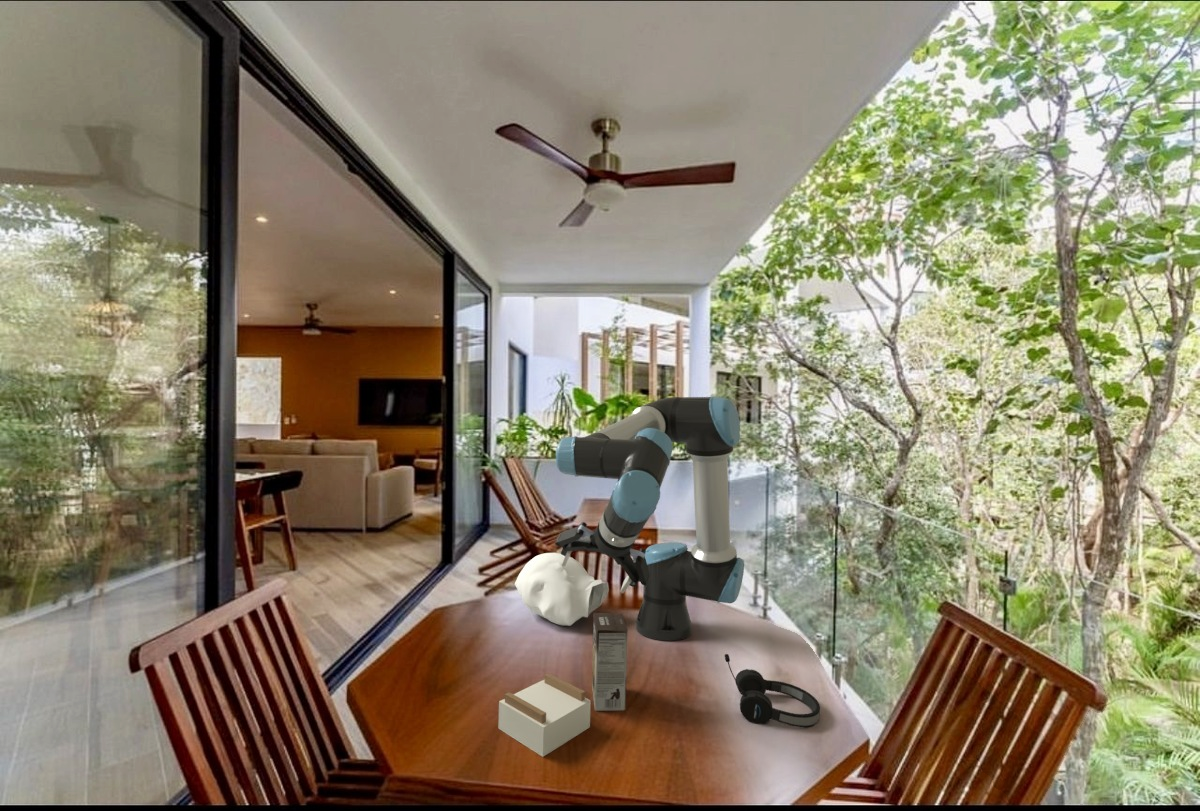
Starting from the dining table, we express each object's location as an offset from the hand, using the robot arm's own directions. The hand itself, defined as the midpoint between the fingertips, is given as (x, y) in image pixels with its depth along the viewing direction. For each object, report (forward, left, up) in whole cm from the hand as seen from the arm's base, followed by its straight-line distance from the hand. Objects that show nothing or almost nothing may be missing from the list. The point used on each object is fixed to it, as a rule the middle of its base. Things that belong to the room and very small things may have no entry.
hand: (594, 573), depth 116 cm
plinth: (+17, +3, -24) cm, 30 cm away
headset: (-19, +32, -25) cm, 45 cm away
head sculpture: (-23, -34, -25) cm, 48 cm away
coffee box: (+1, +5, -25) cm, 25 cm away
